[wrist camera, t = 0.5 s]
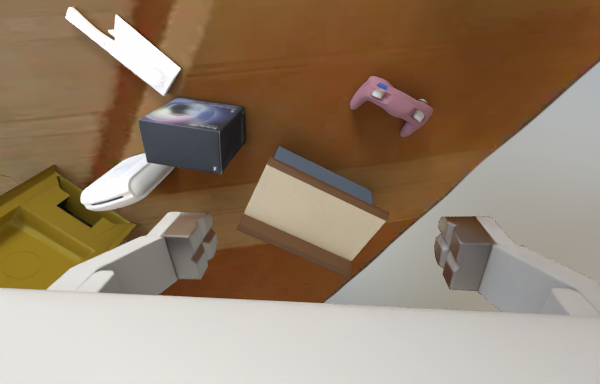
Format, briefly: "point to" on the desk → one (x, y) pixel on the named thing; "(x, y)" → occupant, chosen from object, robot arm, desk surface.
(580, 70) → the desk surface
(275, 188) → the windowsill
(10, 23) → the desk surface
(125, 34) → the white plastic blade
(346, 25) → the desk surface
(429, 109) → the video game controller
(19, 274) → the yellow upright casing
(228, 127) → the small box
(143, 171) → the photo printer
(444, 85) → the desk surface
